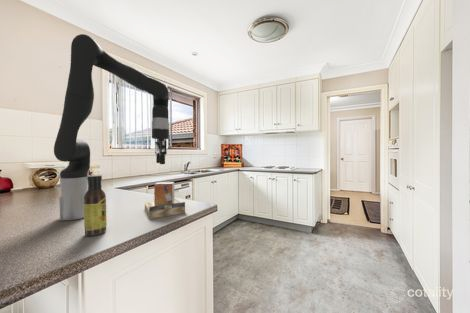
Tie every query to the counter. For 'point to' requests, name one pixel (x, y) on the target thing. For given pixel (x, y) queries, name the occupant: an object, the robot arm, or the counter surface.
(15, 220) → the counter surface
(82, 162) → the robot arm
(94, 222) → the sauce bottle
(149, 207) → the brown patterned flat box
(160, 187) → the small box
